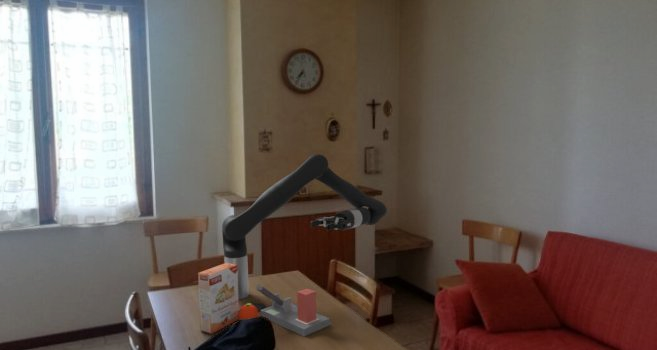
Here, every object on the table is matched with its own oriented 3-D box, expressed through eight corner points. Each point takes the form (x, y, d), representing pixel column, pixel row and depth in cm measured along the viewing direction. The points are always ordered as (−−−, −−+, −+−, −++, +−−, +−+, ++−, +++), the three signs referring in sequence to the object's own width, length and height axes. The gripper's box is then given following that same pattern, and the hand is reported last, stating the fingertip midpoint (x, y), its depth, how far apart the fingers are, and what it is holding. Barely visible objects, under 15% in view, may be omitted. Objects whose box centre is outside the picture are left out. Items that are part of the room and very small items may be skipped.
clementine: (241, 318, 180) (241, 299, 179) (260, 318, 179) (259, 299, 179) (237, 327, 172) (236, 308, 171) (256, 327, 172) (256, 308, 171)
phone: (229, 317, 179) (249, 302, 194) (229, 319, 180) (249, 304, 194) (247, 320, 177) (266, 304, 191) (247, 322, 177) (266, 306, 191)
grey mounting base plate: (260, 316, 181) (259, 296, 180) (285, 307, 189) (285, 288, 188) (304, 336, 164) (303, 314, 163) (329, 325, 172) (329, 304, 171)
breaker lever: (278, 305, 183) (254, 288, 174) (280, 301, 183) (257, 284, 175) (285, 308, 180) (261, 291, 171) (288, 304, 180) (264, 286, 172)
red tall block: (297, 319, 171) (297, 291, 170) (307, 315, 175) (306, 288, 173) (306, 323, 168) (305, 295, 167) (316, 319, 171) (315, 291, 170)
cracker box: (212, 335, 166) (209, 275, 164) (199, 331, 169) (196, 272, 167) (240, 320, 178) (238, 264, 176) (228, 316, 181) (225, 261, 179)
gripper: (335, 207, 200) (305, 213, 188) (361, 212, 190) (332, 218, 178) (335, 225, 201) (306, 232, 189) (362, 231, 190) (332, 239, 179)
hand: (318, 226), depth 184 cm, fingers open, 8 cm apart
